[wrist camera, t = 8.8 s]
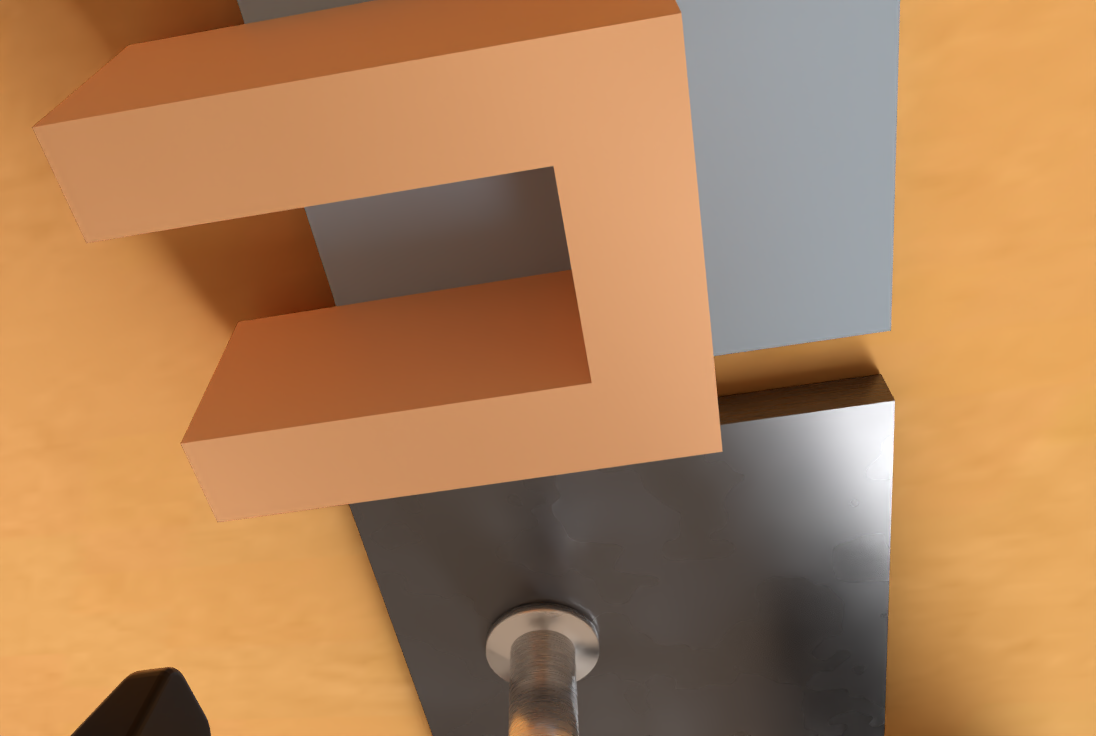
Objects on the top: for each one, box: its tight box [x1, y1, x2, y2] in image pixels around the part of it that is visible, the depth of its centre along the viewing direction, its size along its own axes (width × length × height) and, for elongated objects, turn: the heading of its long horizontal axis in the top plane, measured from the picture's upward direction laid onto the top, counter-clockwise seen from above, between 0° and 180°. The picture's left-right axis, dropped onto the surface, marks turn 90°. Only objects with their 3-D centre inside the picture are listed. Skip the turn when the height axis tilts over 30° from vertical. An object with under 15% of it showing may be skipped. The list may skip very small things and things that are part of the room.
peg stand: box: [349, 374, 895, 736], centre depth 23 cm, size 12×12×6 cm
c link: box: [32, 0, 723, 522], centre depth 17 cm, size 7×9×4 cm
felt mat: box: [237, 0, 900, 356], centre depth 19 cm, size 9×11×1 cm
